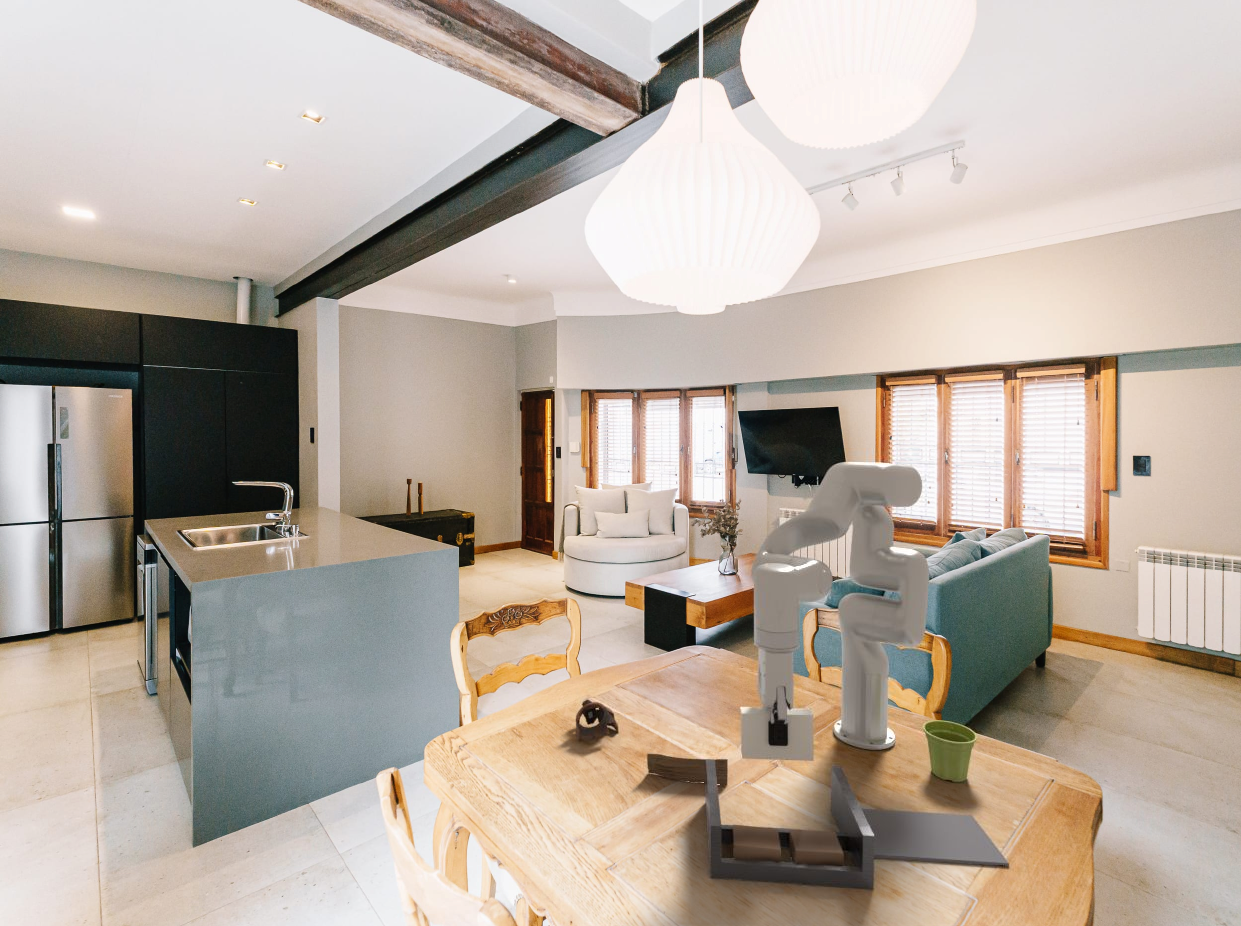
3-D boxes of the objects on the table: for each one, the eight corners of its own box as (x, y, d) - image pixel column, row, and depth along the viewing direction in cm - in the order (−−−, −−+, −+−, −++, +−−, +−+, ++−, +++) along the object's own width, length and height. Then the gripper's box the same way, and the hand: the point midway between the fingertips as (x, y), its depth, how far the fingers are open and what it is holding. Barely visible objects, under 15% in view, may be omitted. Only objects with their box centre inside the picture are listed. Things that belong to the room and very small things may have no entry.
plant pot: (911, 766, 121) (911, 724, 121) (946, 758, 125) (946, 716, 124) (951, 792, 113) (952, 746, 112) (987, 782, 116) (988, 737, 116)
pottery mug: (629, 739, 134) (618, 715, 130) (593, 766, 131) (581, 742, 127) (603, 705, 144) (593, 682, 140) (569, 729, 140) (558, 706, 137)
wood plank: (727, 782, 116) (727, 756, 116) (727, 788, 114) (727, 762, 114) (648, 773, 119) (648, 749, 119) (646, 779, 117) (646, 754, 117)
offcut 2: (789, 853, 96) (789, 829, 96) (834, 856, 96) (834, 831, 96) (795, 876, 91) (795, 850, 91) (843, 879, 91) (843, 853, 91)
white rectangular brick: (741, 750, 107) (740, 706, 107) (810, 753, 106) (810, 708, 106) (742, 758, 105) (741, 713, 104) (813, 760, 103) (813, 715, 103)
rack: (705, 802, 110) (705, 759, 109) (839, 810, 107) (840, 765, 107) (710, 877, 91) (710, 825, 90) (873, 889, 88) (874, 836, 88)
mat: (852, 810, 107) (852, 808, 107) (971, 817, 105) (971, 815, 105) (874, 857, 95) (874, 854, 95) (1008, 866, 93) (1008, 863, 93)
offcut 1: (732, 848, 98) (732, 824, 97) (777, 853, 96) (777, 828, 96) (733, 870, 93) (733, 845, 92) (780, 875, 92) (780, 849, 91)
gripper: (749, 621, 113) (749, 717, 114) (760, 653, 97) (760, 765, 98) (790, 621, 112) (790, 718, 113) (808, 654, 96) (808, 766, 97)
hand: (776, 739), depth 105 cm, fingers closed on white rectangular brick, 2 cm apart
